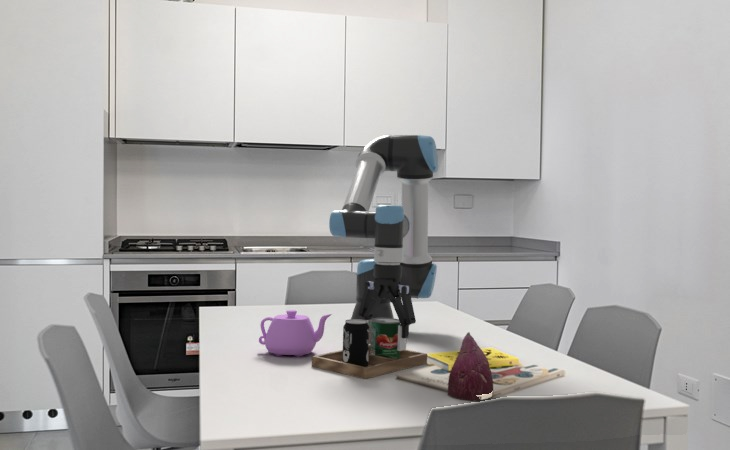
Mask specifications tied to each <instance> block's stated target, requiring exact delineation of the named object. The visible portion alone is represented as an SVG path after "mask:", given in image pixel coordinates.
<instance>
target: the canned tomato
mask: <svg viewBox="0 0 730 450" xmlns="http://www.w3.org/2000/svg"><path fill="white" fill-rule="evenodd" d="M400 324H401V323H400V321H399V318H373V319H371V347H370V348H371V350H370V354H371V355H376V356H381V357H385V358H390V359H395V360H397V359H400V351H397V348H398V326H399V325H400Z"/></svg>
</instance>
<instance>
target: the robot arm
mask: <svg viewBox="0 0 730 450" xmlns="http://www.w3.org/2000/svg"><path fill="white" fill-rule="evenodd" d="M355 167H356V169H355V172H354V174H353V179H352V181H351V184H350V187H349V189H348V192H347V195H346V197H345V201H344V202H343V206H342V208H341V209H338V210H333V211H331V213H330V215H329V224H328V225H329V232H330V234H331V235H332V236H333V237H338V238H344V239H346V238H351V239H374V249H373V250H374V255H373V258H368V259H367V258H366V259H362V260H360V261H359V262H358V263H357V266H356V267H357V269H356V273H355V274H356V289H355V290H356V292H355V293H356V294H355V306H354V309H353V312H352V314H351V317H350V319H361V320H366V321H368V325H369V345H370V344H371V319H373V318H394V314H393V313H394V312H393V309H394V311H395V313H396V316H397V319H399V321H400V325H399V326H398V348H397V351H402V350H407V338H409V336H410V335H409V334H410V325H414V324H416V322H417V321H416V320H417V319H416V316H415V310H414V307H413V301H412V299H429V298H430V297H431V296H432V295H433V291H434V286H435V283H436V277H437V267H438V266H437V264H435V263H433V258H432V256H431V255H430V254H429V253H428V249H429V248H428V246H429V245H428V244H429V242H428V238H429V235H428V234H429V183H430V181H432V180H433V178H434V174H435V173H437V172H438V169H439V159H438V150H437V145H436V142H435V139H434V138H433V137H432V136H431V135H424V134H423V135H422V134H393V135H392V134H386V135H381V136H379V137H376V138H375V139H373V140H371V141H370V142H368V143H367V144H366V145H365V146H364V147H363V148H362V149H361V150H360V152H359V153H358V155H357V158H356V161H355ZM385 172H396V178H397V179H398V180H399V181H400V182H401V205H392V204H390V205H389V204H388V205H387V204H379V205H377V206H376V207H375V211H370V208H371V205H372V202H373V199H374V195H375V192H376V189H377V185H378V183H379V180H380V177H381V176H382V175H383V174H384V173H385ZM391 304H392V306H393V309H392V306H391ZM394 319H395V318H394Z"/></svg>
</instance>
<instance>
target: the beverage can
mask: <svg viewBox="0 0 730 450" xmlns="http://www.w3.org/2000/svg"><path fill="white" fill-rule="evenodd" d="M344 322H345V323H344V325H343V328H342V331H343V333H342V350H343V356H342V361H341V362H345V363H349V364H354V365H358V366H363V367H368V366H369V365H368V358H369V345H370V344H369V325H368V321H366V320H361V319H351V318H350V319H345V320H344Z"/></svg>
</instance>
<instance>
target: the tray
mask: <svg viewBox="0 0 730 450" xmlns="http://www.w3.org/2000/svg"><path fill="white" fill-rule="evenodd" d="M370 347H371V344H369V358H368V367H363V366H358V365H354V364H349V363H345V362H342V356H343V349H341V350H337V351H331V352H326V353H321V354H316V355H311V367H314V368H319V369H322V370H327V371H330V372H334V373H339V374H343V375H348V376H351V377H356V378H360V379H364V380H368V379H370V378H371V379H372V378H374V377H379V376H383V375H385V374H390V373H394V372H397V371H403V370H405V369H409V368H413V367H418V366H421V365H426V364H428V353H425V352H420V351H416V350H410V349H406V350H402V351H400V358H399V359H397V360H395V359H390V358H385V357H381V356H376V355H371V354H370V350H371V348H370Z"/></svg>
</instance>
